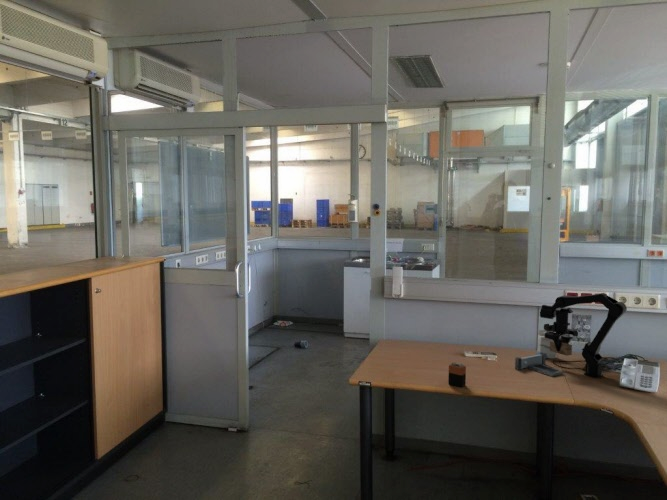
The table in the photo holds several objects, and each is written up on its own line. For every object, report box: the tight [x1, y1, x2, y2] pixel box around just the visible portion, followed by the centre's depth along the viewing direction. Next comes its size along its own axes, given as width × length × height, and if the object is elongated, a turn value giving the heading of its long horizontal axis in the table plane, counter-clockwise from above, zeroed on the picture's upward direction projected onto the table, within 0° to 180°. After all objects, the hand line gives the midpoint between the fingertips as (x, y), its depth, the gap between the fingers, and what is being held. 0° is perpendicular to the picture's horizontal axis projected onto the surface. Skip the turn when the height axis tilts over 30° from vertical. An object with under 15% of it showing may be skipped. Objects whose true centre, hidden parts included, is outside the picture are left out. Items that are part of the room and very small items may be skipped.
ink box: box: [536, 329, 557, 359], centre depth 278 cm, size 9×5×15 cm, turn 84°
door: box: [520, 354, 542, 370], centre depth 260 cm, size 16×3×5 cm, turn 119°
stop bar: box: [550, 341, 573, 357], centre depth 257 cm, size 10×4×5 cm, turn 28°
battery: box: [447, 362, 467, 388], centre depth 232 cm, size 4×7×10 cm, turn 51°
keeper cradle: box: [527, 363, 564, 378], centre depth 253 cm, size 14×8×2 cm, turn 29°
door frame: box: [514, 352, 547, 371], centre depth 260 cm, size 20×2×6 cm, turn 119°
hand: (560, 350), depth 257 cm, fingers closed on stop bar, 4 cm apart
